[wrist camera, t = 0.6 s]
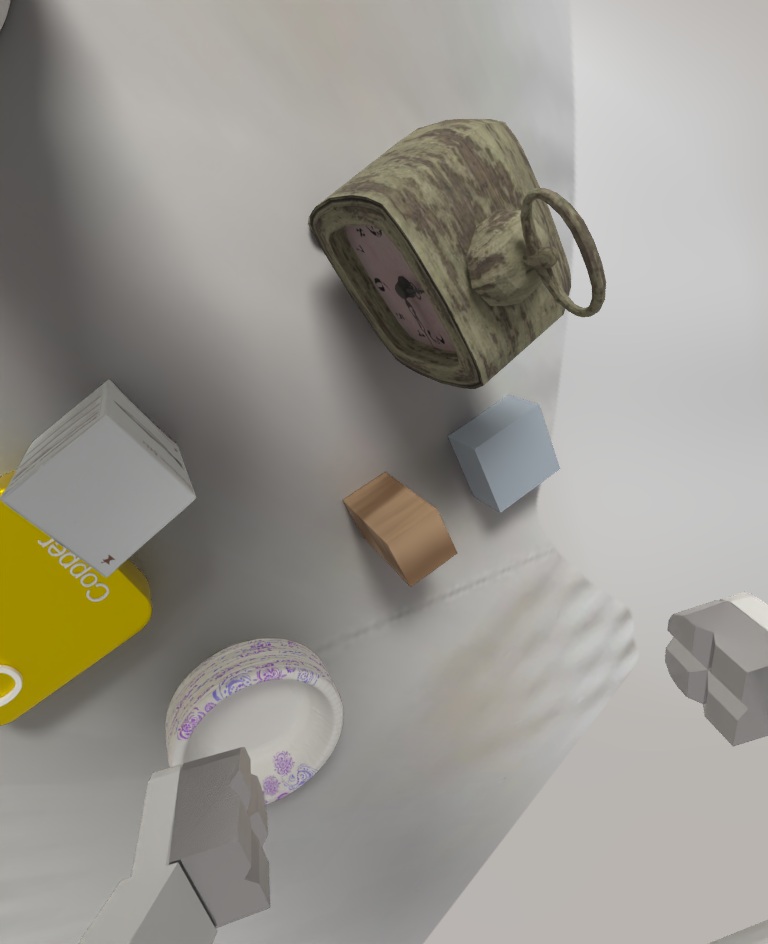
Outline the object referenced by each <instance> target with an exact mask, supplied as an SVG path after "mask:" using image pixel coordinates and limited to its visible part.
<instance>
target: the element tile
mask: <svg viewBox="0 0 768 944" xmlns="http://www.w3.org/2000/svg"><path fill="white" fill-rule="evenodd" d="M15 472H16V471H12V472H10V473H8V474H5V475H3V476H2V477H0V497H1V495H2V494H3V493H4V491H5V490H6V488H7V487H8V485H9V483H10V481H11V479H12V478H13V476H14V474H15ZM151 614H152V602H151V594H150V587H149V583H148V581H147V579H146V578H145V576H144V575H143V574H142V573H141V572H140V571H139V570H138V568H137V567H136V566H135V565H134V564H133V563H132V562H131V561H130V560H129V559H127V560H126V561H125V562H124V563H123V564H122V565H121V566H120V567H118V568H117V569H116V570H115V571H114V572H113V573H112V574H111V575H110V576H109V577H104V576H102V575H101V574H100V573H99V572H97V571H96V570H95V569H93V568H92V567H90V566H89V565H88V564H86V563H85V562H84V561H82V560H81V559H80V558H78V557H77V556H75V555H74V554H73V553H71V552H70V551H69V550H67V549H66V548H64V547H63V546H61V545H60V544H58V543H57V542H56V541H54V540H53V539H52V538H51V537H49V536H48V535H47V534H45V533H44V532H43V531H41V530H40V529H38V528H37V527H36V526H34V525H33V524H32V523H30V522H29V521H27V520H26V519H25V518H23V517H22V516H21V515H19V514H18V513H16V512H15V511H14V510H12V509H11V508H10V507H8V506H7V505H5V504H4V503H3V502H2V501H1V499H0V726H2V725H5V724H8V723H10V722H12V721H14V720H15V719H17V718H18V717H20V716H21V715H22V714H24V713H25V712H27V711H28V710H30V709H31V708H32V707H34V706H35V705H37V704H38V703H39V702H41V701H42V700H44V699H45V698H46V697H48V696H49V695H51V694H52V693H53V692H55V691H56V690H58V689H59V688H61V687H62V686H63V685H65V684H66V683H68V682H69V681H70V680H72V679H73V678H75V677H76V676H77V675H79V674H80V673H82V672H83V671H84V670H86V669H87V668H89V667H90V666H92V665H93V664H94V663H96V662H97V661H99V660H100V659H101V658H103V657H104V656H106V655H107V654H108V653H110V652H111V651H113V650H114V649H116V648H117V647H118V646H120V645H121V644H123V643H124V642H125V641H127V640H128V639H130V638H131V637H132V636H134V635H135V634H137V633H138V632H139V631H141V630H142V629H143V628H144V627H145V626H146V624H147V623H148V621H149V620H150V618H151Z"/></svg>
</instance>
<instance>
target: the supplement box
mask: <svg viewBox="0 0 768 944" xmlns="http://www.w3.org/2000/svg"><path fill="white" fill-rule="evenodd" d="M0 499H1V501H2V502H3V503H4V504H5V505H7V506H8V507H10V508H11V509H12V510H14V511H15V512H16V513H18V514H19V515H21V516H22V517H23V518H25V519H26V520H27V521H29V522H30V523H32V524H33V525H34V526H36V527H37V528H38V529H40V530H41V531H43V532H44V533H45V534H47V535H48V536H49V537H51V538H52V539H53V540H54V541H56V542H57V543H58V544H60V545H61V546H63V547H64V548H66V549H67V550H69V551H70V552H71V553H73V554H74V555H75V556H77V557H78V558H80V559H81V560H82V561H84V562H85V563H86V564H88V565H89V566H90V567H92V568H93V569H95V570H96V571H97V572H99V573H100V574H101V575H102V576H104V577H109V576H110V575H111V574H112V573H113V572H114V571H115V570H116V569H117V568H118V567H120V566H121V565H122V564H123V563H124V562H125V561H126V560H127V559H128V558H130V557H131V556H132V555H133V554H134V553H135V552H136V551H137V550H138V549H140V548H141V547H142V546H143V545H144V544H145V543H146V542H147V541H149V540H150V539H151V538H152V537H153V536H154V535H155V534H157V533H158V532H159V531H160V530H161V529H162V528H163V527H165V526H166V525H167V524H168V523H169V522H170V521H171V520H173V519H174V518H175V517H176V516H177V515H178V514H179V513H181V512H182V511H183V510H184V509H185V508H186V507H187V506H189V505H190V504H191V503H192V502H193V501H194V500H195V499H196V495H195V492H194V489H193V487H192V484H191V481H190V478H189V476H188V473H187V470H186V467H185V464H184V462H183V459H182V456H181V453H180V450H179V448H178V445H177V444H175V443H174V442H173V441H172V440H171V439H170V438H169V437H167V436H166V435H165V434H164V433H163V432H162V431H161V430H160V429H159V428H158V427H156V426H155V425H154V424H153V423H152V422H151V421H150V420H149V419H148V418H147V417H146V416H145V415H144V414H143V413H142V412H141V411H140V410H139V409H138V408H137V407H136V406H135V405H134V404H133V403H132V402H131V401H130V400H129V399H128V398H127V397H126V396H125V395H124V394H123V393H122V392H121V391H120V390H119V389H118V388H117V387H116V386H115V385H114V384H113V383H112V382H111V380H107V381H106V382H104V383H103V384H102V385H101V386H100V387H99V388H97V389H96V390H95V391H94V392H93V393H91V394H90V395H89V396H88V397H86V398H85V399H84V400H83V401H81V402H80V403H79V404H78V405H77V406H75V407H74V408H73V409H72V410H70V411H69V412H68V413H67V414H66V415H64V416H63V417H62V418H61V419H59V420H58V421H57V422H56V423H55V424H53V425H52V426H51V427H50V428H49V429H47V430H46V431H45V432H44V433H42V434H41V435H40V436H39V437H38V438H36V439H35V440H34V441H33V442H32V444H31V445H30V447H29V449H28V450H27V452H26V453H25V455H24V457H23V459H22V461H21V463H20V464H19V466H18V468H17V470H16V472H15V474H14V476H13V478H12V479H11V481H10V483H9V485H8V487H7V488H6V490H5V491H4V493H3V494H2V495H1V497H0Z"/></svg>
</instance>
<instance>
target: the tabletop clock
mask: <svg viewBox="0 0 768 944" xmlns="http://www.w3.org/2000/svg"><path fill="white" fill-rule="evenodd" d="M547 204H549V205H550V206H551V207H552V208H553V209H554V210H555V211H556V212H557V213H558V214H559V215H560V216H561V217H562V219H563V220H564V222H565V223H566V224H567V226H568V227H569V229H570V230H571V232H572V234H573V237H574V239H575V241H576V243H577V245H578V247H579V249H580V252H581V254H582V257H583V260H584V262H585V265H586V268H587V270H588V274H589V277H590V281H591V285H592V300H591V303H590V306H589V307H588V308H582V307H579V306H577V305H575V304H574V303H573V302H572V300H571V299H570V298H569V297H568V296H569V292H570V288H571V275H570V269H569V265H568V262H567V258H566V255H565V253H564V250H563V247H562V244H561V241H560V238H559V235H558V233H557V230H556V227H555V224H554V221H553V218H552V216H551V213H550V210H549V208H548V205H547ZM308 225H309V227H310V229H311V230H312V231H313V232H314V234H315V236H316V239H317V240H318V242H319V244H320V246H321V248H322V250H323V251H324V253H325V255H326V256H327V258H328V260H329V261H330V263H331V264H332V266H333V268H334V269H335V271H336V273H337V274H338V276H339V277H340V279H341V281H342V282H343V284H344V286H345V287H346V289H347V290H348V292H349V294H350V295H351V297H352V298H353V300H354V301H355V303H356V304H357V306H358V307H359V309H360V310H361V312H362V313H363V315H364V316H365V317H366V319H367V320H368V322H369V323H370V325H371V326H372V328H373V329H374V331H375V332H376V334H377V335H378V337H379V338H380V339H381V341H382V342H383V343H384V345H385V346H386V347H387V349H388V350H389V351H390V352H391V353H392V355H393V356H394V357H395V358H396V359H397V360H398V361H399V362H401V363H402V364H403V365H405V366H406V367H408V368H409V369H411V370H413V371H415V372H417V373H419V374H421V375H423V376H426V377H428V378H431V379H433V380H435V381H438V382H440V383H444V384H448V385H452V386H457V387H461V388H469V389H476V388H478V387H481V386H483V385H484V384H485V383H487V382H488V381H489V380H490V379H491V378H492V377H493V376H494V375H496V374H497V373H498V372H499V371H500V370H501V369H502V368H504V367H505V366H506V365H507V364H508V363H509V362H510V361H511V360H513V359H514V358H515V357H516V356H517V355H518V354H519V353H520V352H522V351H523V350H524V349H525V348H526V347H527V346H528V345H529V344H531V343H532V342H533V341H534V340H535V339H536V338H537V337H538V336H540V335H541V334H542V333H543V332H544V331H545V330H546V329H547V328H549V327H550V326H551V325H552V324H553V323H554V322H555V321H556V320H558V319H559V318H560V317H561V316H562V315H563V314H564V311H565V309H567V310H568V311H569V312H571V313H573V314H575V315H577V316H580V317H589V316H592V315H594V314H595V313H597V312H598V311H599V310H600V309H601V306H602V304H603V302H604V300H605V289H606V280H605V275H604V270H603V266H602V262H601V259H600V256H599V253H598V251H597V248H596V245H595V242H594V240H593V238H592V236H591V234H590V232H589V230H588V228H587V226H586V224H585V223H584V220H583V219H582V218H581V217H580V215H579V214H578V213H577V211H576V210H575V209H574V208H573V206H572V205H571V204H570V203H569V202H567V201H566V200H565V199H564V198H563V197H561V196H560V195H559V194H558V193H556V192H553V191H551V190H548V189H545V188H540V187H539V185H538V182H537V180H536V178H535V176H534V173H533V171H532V169H531V166H530V164H529V162H528V159H527V157H526V155H525V153H524V151H523V149H522V147H521V145H520V143H519V142H518V140H517V138H516V137H515V135H514V134H513V133H512V131H511V130H510V129H509V127H508V126H507V125H506V123H505V122H501V121H497V120H492V119H456V120H445V121H442V122H439V123H435V124H432V125H429V126H425V127H422V128H419V129H417V130H415V131H414V132H412V133H411V134H410V135H408V136H407V137H405V138H404V139H402V140H401V141H400V142H398V143H397V144H395V145H394V146H393V147H392V148H390V149H389V150H388V151H387V152H385V153H384V154H383V155H381V156H380V157H379V158H378V159H376V160H375V161H374V162H372V163H371V164H370V165H369V166H367V167H366V168H365V169H364V170H362V171H361V172H360V173H358V174H357V175H356V176H355V177H353V178H352V179H351V180H350V181H348V182H347V183H346V184H344V185H343V186H342V187H341V188H339V189H338V190H337V191H335V192H334V193H333V194H332V195H330V196H329V197H328V198H327V199H325V200H324V201H323V202H321V203H320V204H319V205H318V206H316V207H315V208H314V210H313V211H312V213H311V215H310V216H309V220H308Z"/></svg>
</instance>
